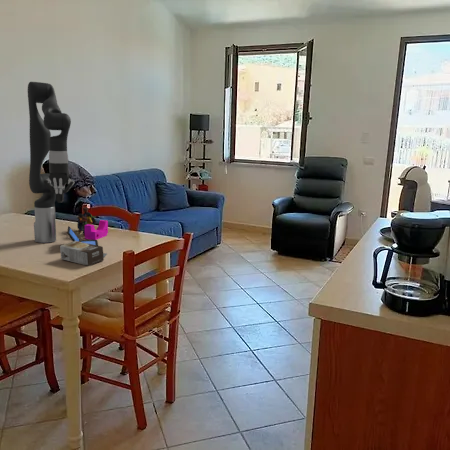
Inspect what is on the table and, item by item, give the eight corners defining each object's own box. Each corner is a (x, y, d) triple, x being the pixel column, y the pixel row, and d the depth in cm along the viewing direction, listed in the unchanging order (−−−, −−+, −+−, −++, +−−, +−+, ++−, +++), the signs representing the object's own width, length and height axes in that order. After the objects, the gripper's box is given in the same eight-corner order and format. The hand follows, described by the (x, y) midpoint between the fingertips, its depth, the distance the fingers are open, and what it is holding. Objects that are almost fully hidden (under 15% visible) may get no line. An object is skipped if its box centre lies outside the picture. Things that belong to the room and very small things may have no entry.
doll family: (70, 230, 244) (69, 206, 241) (86, 228, 249) (85, 205, 246) (84, 239, 225) (83, 213, 223) (101, 237, 231) (100, 212, 228)
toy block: (95, 240, 223) (94, 226, 222) (84, 239, 225) (84, 225, 224) (112, 234, 237) (111, 221, 236) (102, 233, 239) (101, 220, 238)
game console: (98, 250, 207) (98, 231, 205) (67, 251, 203) (66, 232, 201) (97, 242, 221) (97, 224, 219) (68, 243, 217) (68, 225, 215)
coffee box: (75, 240, 194) (103, 246, 187) (76, 253, 196) (104, 260, 189) (59, 245, 186) (88, 252, 179) (60, 259, 188) (89, 266, 181)
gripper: (39, 161, 181) (41, 203, 185) (71, 163, 181) (72, 204, 185) (46, 160, 188) (47, 200, 192) (77, 161, 189) (78, 201, 192)
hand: (60, 202), depth 189 cm, fingers closed
